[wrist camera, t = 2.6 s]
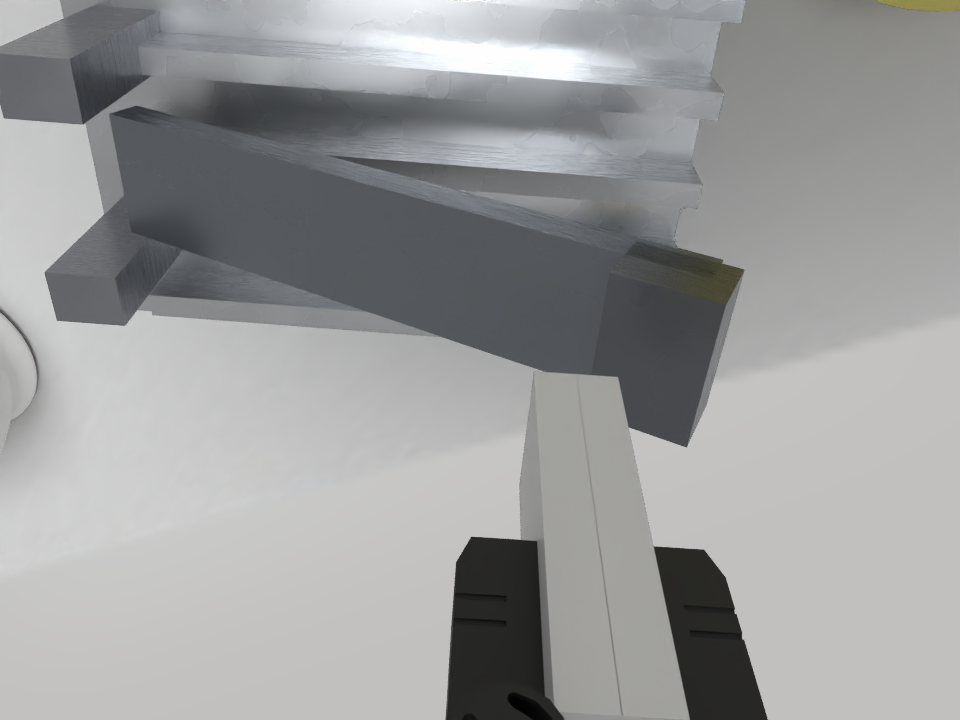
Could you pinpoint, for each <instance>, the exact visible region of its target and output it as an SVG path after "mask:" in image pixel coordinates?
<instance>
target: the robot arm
mask: <svg viewBox="0 0 960 720" xmlns="http://www.w3.org/2000/svg"><path fill="white" fill-rule="evenodd" d="M520 523H521V540H514V539H498V538H483V537H471V539H470V540H469V542H468V544H467V545H466V547H465V549H464V550H463V552H462V554H461V555H460V557H459V559H458V560H457V562H456V573H455V586H454V600H453V612H452V626H451V642H450V658H449V674H448V690H447V707H446V720H768V719H767V716H766V713H765V709H764V706H763V702H762V699H761V696H760V692H759V689H758V685H757V682H756V679H755V675H754V672H753V669H752V665H751V662H750V658H749V655H748V652H747V648H746V645H745V641H744V640H742V631H741V628H740V625H739V621H738V618H737V615H736V614H735V613H734V609H735V608H734V604H733V601H732V598H731V594H730V591H729V587H728V584H727V581H726V578H725V576H724V575H723V574H722V572H721V571H720V570H719V569H718V567H717V566H716V565H715V563H714V562H713V561H712V560H711V558H710V557H709V556H708V554H707V553H706V552H705V550H698V549H684V548H668V547H654V546H653V542H652V537H651V532H650V527H649V522H648V518H647V513H646V508H645V503H644V499H643V494H642V489H641V485H640V480H639V475H638V470H637V465H636V460H635V456H634V451H633V447H632V442H631V437H630V432H629V427H628V422H627V418H626V413H625V408H624V403H623V398H622V394H621V389H620V384H619V379H618V377H611V376H596V375H581V374H567V373H552V372H538V371H534V376H533V384H532V391H531V399H530V407H529V415H528V422H527V430H526V438H525V446H524V453H523V462H522V469H521V477H520Z"/></svg>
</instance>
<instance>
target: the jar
mask: <svg viewBox="0 0 960 720" xmlns="http://www.w3.org/2000/svg"><path fill="white" fill-rule="evenodd" d="M36 387H37V371H36V366H35V362H34V359H33V356H32V353H31V351H30V349H29V347H28V345H27V343H26V342H25V340H24V339H23V337H22V336H21V334H20V333H19V332H18V330H17V329H16V328H15V327H14V325H13V324H12V323H11V322H10V321H9V320H8V319H7V318H6V317H5V316H4V315H3V314H1V313H0V454H1V451H2V449H3V447H4V444H5V441H6V438H7V435H8V431H9V427H10V421H11V420H13V419H14V418H16V417H17V416H19V415H20V414H21V413H22V412H24V411H25V410H26V408H27V407H28V406H29V404H30V403H31V401H32V399H33V397H34V395H35V391H36Z"/></svg>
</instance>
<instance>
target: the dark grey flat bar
mask: <svg viewBox="0 0 960 720" xmlns="http://www.w3.org/2000/svg"><path fill="white" fill-rule="evenodd" d="M109 117H110V123H111V128H112V133H113V138H114V144H115V149H116V154H117V160H118V165H119V170H120V175H121V181H122V186H123V191H124V197H125V202H126V207H127V212H128V218H129V223H130V228H131V232H132V233H135V234H138V235H141V236H144V237H147V238H150V239H153V240H156V241H159V242H161V243H164V244H167V245H170V246H173V247H176V248H179V249H182V250H185V251H188V252H191V253H194V254H197V255H200V256H203V257H206V258H209V259H212V260H215V261H218V262H221V263H224V264H227V265H230V266H233V267H236V268H239V269H242V270H245V271H248V272H251V273H254V274H257V275H259V276H262V277H265V278H268V279H271V280H274V281H277V282H280V283H283V284H286V285H289V286H292V287H295V288H298V289H301V290H304V291H307V292H310V293H313V294H316V295H319V296H322V297H325V298H328V299H331V300H334V301H337V302H340V303H343V304H346V305H349V306H352V307H355V308H357V309H360V310H363V311H366V312H369V313H372V314H375V315H378V316H381V317H384V318H387V319H390V320H393V321H396V322H399V323H402V324H405V325H408V326H411V327H414V328H417V329H420V330H423V331H426V332H429V333H432V334H435V335H438V336H441V337H444V338H447V339H450V340H452V341H455V342H458V343H461V344H464V345H467V346H470V347H473V348H476V349H479V350H482V351H485V352H488V353H491V354H494V355H497V356H500V357H503V358H506V359H509V360H512V361H515V362H518V363H521V364H524V365H527V366H530V367H533V368H536V369H539V370H542V371H545V372H552V373H567V374H581V375H596V376H611V377H618V379H619V384H620V389H621V394H622V398H623V403H624V408H625V413H626V418H627V422H628V427H630V428H633V429H635V430H639V431H641V432H644V433H647V434H650V435H653V436H656V437H658V438H661V439H664V440H667V441H670V442H673V443H676V444H678V445H681V446H684V447H687V446H688V443H689V441H690V439H691V437H692V435H693V433H694V430H695V428H696V426H697V424H698V422H699V420H700V418H701V416H702V413H703V411H704V409H705V407H706V405H707V401H708V397H709V394H710V390H711V387H712V383H713V380H714V376H715V373H716V369H717V366H718V362H719V359H720V355H721V352H722V348H723V344H724V341H725V337H726V334H727V330H728V327H729V323H730V320H731V316H732V313H733V309H734V306H735V302H736V299H737V295H738V291H739V288H740V284H741V281H742V277H743V274H744V269H740V268H736V267H732V266H729V265H725V264H722V263H723V260H722V259H718V258H714V257H710V256H706V255H703V254H699V253H695V252H691V251H687V250H684V249H680V248H676V247H672V246H668V245H665V244H661V243H657V242H653V241H649V240H646V239H642V238H638V237H634V236H630V235H627V234H623V233H619V232H615V231H611V230H608V229H604V228H600V227H596V226H592V225H589V224H585V223H581V222H577V221H573V220H570V219H566V218H562V217H558V216H554V215H551V214H547V213H543V212H539V211H535V210H532V209H528V208H524V207H520V206H517V205H513V204H509V203H505V202H501V201H498V200H494V199H490V198H486V197H482V196H479V195H475V194H471V193H467V192H463V191H460V190H456V189H452V188H448V187H444V186H441V185H437V184H433V183H429V182H425V181H422V180H418V179H414V178H410V177H406V176H403V175H399V174H395V173H391V172H387V171H384V170H380V169H376V168H372V167H368V166H365V165H361V164H357V163H353V162H349V161H346V160H342V159H338V158H334V157H330V156H327V155H323V154H319V153H315V152H311V151H308V150H304V149H300V148H296V147H292V146H289V145H285V144H281V143H277V142H273V141H270V140H266V139H262V138H258V137H255V136H251V135H247V134H243V133H239V132H236V131H232V130H228V129H224V128H220V127H217V126H213V125H209V124H205V123H201V122H198V121H194V120H190V119H186V118H182V117H179V116H175V115H171V114H167V113H163V112H160V111H156V110H152V109H148V108H144V107H141V106H133V107H130V108H127V109H123V110H120V111H117V112H113V113H110V114H109Z"/></svg>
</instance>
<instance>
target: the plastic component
mask: <svg viewBox="0 0 960 720" xmlns="http://www.w3.org/2000/svg"><path fill="white" fill-rule="evenodd" d="M876 1H878V2H881V3H883V4H886V5H890V6H894V7H899V8H904V9H909V10H920V11H958V10H960V0H876Z"/></svg>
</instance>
